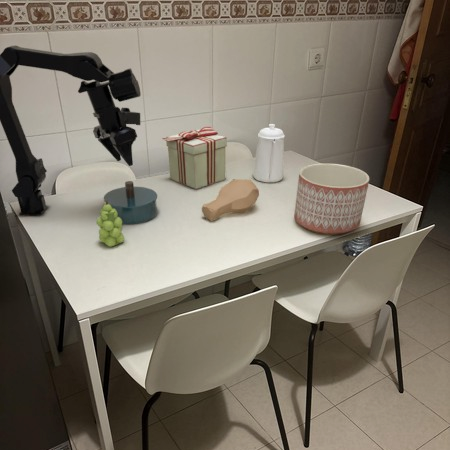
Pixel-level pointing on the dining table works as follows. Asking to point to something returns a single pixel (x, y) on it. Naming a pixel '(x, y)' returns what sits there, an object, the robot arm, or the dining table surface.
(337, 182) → the planter
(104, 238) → the grapes
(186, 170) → the gift box
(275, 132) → the coffeepot
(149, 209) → the teal round bowl
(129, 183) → the lid
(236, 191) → the squash
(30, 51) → the robot arm
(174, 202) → the dining table surface
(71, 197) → the dining table surface
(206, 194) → the dining table surface
